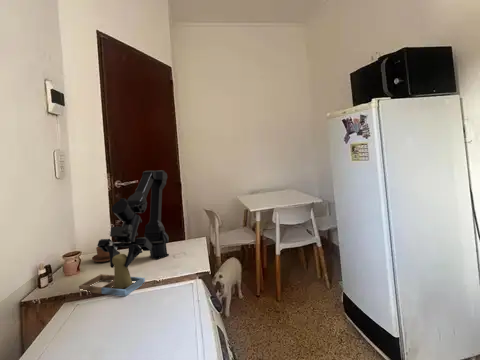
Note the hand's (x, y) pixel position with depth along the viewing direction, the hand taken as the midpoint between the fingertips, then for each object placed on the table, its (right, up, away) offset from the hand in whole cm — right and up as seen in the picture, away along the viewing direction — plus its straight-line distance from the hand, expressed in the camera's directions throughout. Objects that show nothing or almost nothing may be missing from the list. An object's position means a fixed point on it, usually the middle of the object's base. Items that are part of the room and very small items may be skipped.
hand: (118, 267), depth 118 cm
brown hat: (-19, -6, +37) cm, 42 cm away
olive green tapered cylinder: (+1, -7, +2) cm, 7 cm away
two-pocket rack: (-4, -8, +4) cm, 10 cm away
